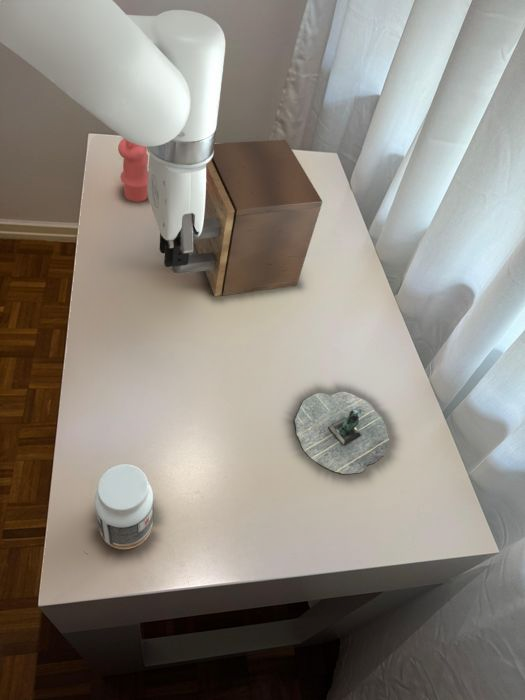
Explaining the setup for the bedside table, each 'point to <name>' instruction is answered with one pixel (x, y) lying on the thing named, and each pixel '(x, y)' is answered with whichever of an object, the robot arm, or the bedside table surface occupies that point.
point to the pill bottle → (124, 506)
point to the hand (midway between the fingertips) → (173, 257)
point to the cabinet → (265, 214)
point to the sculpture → (341, 432)
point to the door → (212, 234)
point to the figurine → (134, 170)
